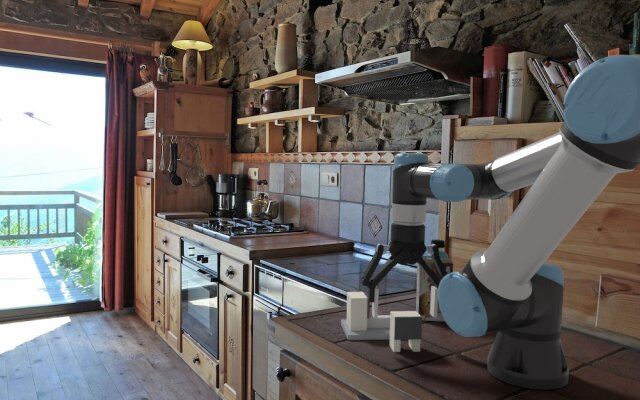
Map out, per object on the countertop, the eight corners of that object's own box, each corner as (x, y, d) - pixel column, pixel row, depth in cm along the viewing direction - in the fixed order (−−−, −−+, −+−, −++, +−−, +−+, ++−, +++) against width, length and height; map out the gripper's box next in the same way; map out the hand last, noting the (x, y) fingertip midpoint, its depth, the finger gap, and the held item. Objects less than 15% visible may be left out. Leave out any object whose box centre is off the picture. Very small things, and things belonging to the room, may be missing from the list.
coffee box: (448, 315, 140) (450, 257, 139) (452, 322, 134) (454, 262, 132) (415, 313, 141) (417, 256, 140) (417, 320, 134) (419, 261, 133)
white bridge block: (414, 345, 116) (416, 311, 116) (420, 352, 112) (422, 317, 111) (389, 345, 116) (390, 311, 115) (394, 353, 111) (395, 317, 110)
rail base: (414, 338, 120) (415, 301, 120) (348, 340, 119) (348, 301, 118) (401, 323, 132) (402, 288, 132) (340, 323, 131) (341, 289, 130)
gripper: (456, 221, 117) (451, 310, 119) (350, 219, 114) (347, 310, 116) (468, 225, 109) (463, 320, 111) (355, 224, 107) (352, 321, 109)
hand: (404, 316), depth 114 cm, fingers open, 13 cm apart
